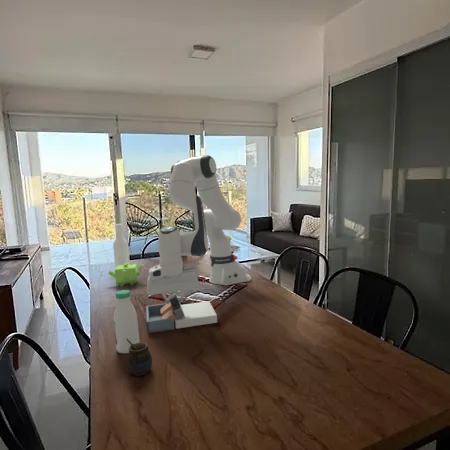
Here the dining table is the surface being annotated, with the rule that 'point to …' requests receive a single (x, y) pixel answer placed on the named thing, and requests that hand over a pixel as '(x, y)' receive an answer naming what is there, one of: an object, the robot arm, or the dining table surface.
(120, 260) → the alcohol
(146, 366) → the mate gourd
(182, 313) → the two-tone stepped block
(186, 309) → the board
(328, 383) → the dining table surface
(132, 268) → the kettle
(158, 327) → the tray
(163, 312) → the tile back
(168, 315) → the tile front
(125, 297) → the milk bottle
